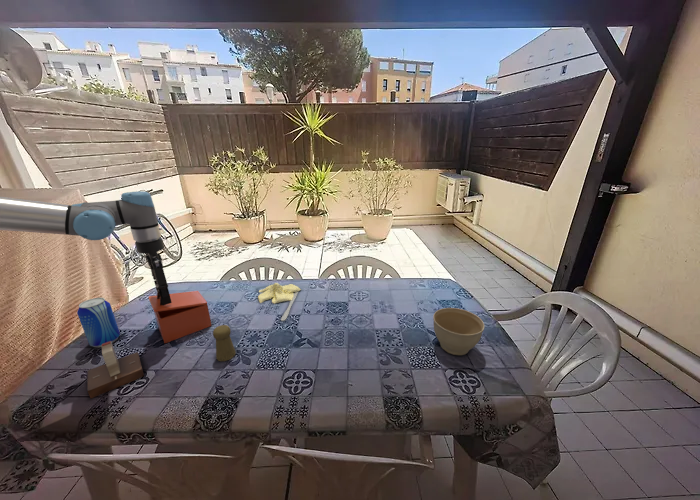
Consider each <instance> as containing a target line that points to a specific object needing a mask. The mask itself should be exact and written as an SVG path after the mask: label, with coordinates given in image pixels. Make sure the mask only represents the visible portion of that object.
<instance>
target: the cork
mask: <svg viewBox="0 0 700 500" xmlns="http://www.w3.org/2000/svg"><path fill="white" fill-rule="evenodd" d="M231 331H232V330H231V327H230V326H229V325H227V324H221V325H218V326H216V327H215V328H214V329H213V331H212V336H213V338H214V339H215V355H216V356H215V358H216V360H217V361H218V362H226V361H229V360H231V359H233V358H234V357H235V356H236V354H237V352H236V348H235V346H234V343H233V340H232V338H231V333H232V332H231Z"/></svg>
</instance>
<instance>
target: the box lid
mask: <svg viewBox="0 0 700 500" xmlns="http://www.w3.org/2000/svg"><path fill="white" fill-rule="evenodd" d="M155 285H156V286H155ZM154 286H155V288H156V287H157V288H158V285H157V283H156V284H155V283H154ZM169 294H170V298H171V302H172V303H170V304H166V305H162V301H161V298H160V294H159V291H158V290H156V295H148V300H149V303H150V305H151V308H152V310H153V313H154V312H159V311H166V310H172V309H179V308H186V307H193V306H199V305H206V304H207V305H208V302H207V300H206V299H205V297H204V296H203V295H202V294H201V292H200V291H199V290H193V291H192V290H191V291H183V292H174V293H169Z"/></svg>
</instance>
